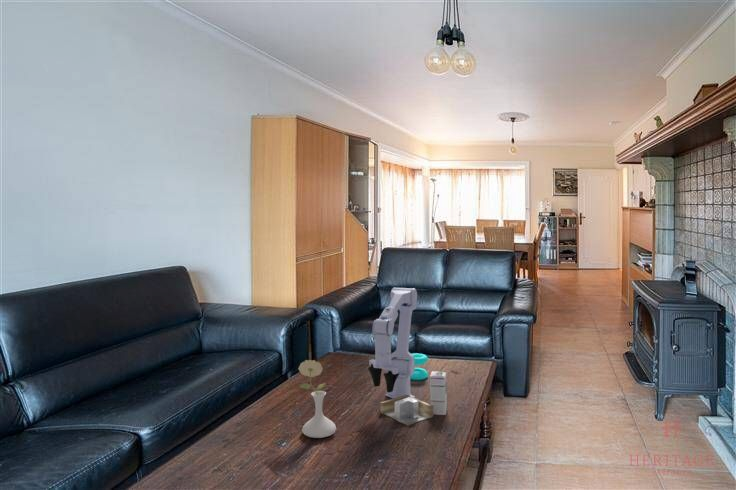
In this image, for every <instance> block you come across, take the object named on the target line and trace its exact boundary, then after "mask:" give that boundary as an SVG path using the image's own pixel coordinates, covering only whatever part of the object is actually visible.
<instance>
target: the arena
mask: <svg viewBox="0 0 736 490" xmlns="http://www.w3.org/2000/svg"><path fill="white" fill-rule="evenodd" d="M408 397H409V398H412V399H414V400H417V401H418V418H416V419H412V418H409V417H408V418H405V419H403V420H400V421H399V420H397V419H395V402H396V401H399V400H402V399H405V398H408ZM379 407H380V408H379V411H380V414H381V415H386V416H387V417H389V418H391V419H393V420H395V421H397V422H399V423H401V424H404V425H405V426H407V427H408V426H411V425H414V424H416V423H419V422H422V421H425V420H428V419H431V418H433V417H434V414H433V406H432V405H430V403H428V402H425V401H422V400H420V399H418V398H417V397H415V398H413V397H411V396H409V395H404V396H401V397H397V398H394V399H393V398H391V399H390V398H389V399H387V400H384V401H380V402H379Z"/></svg>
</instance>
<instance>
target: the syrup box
mask: <svg viewBox="0 0 736 490" xmlns="http://www.w3.org/2000/svg"><path fill="white" fill-rule="evenodd" d="M429 374H430V375H429V398H430V399H429V400H430V401H429V402H430V403H429V404H430V405H432V406H433V415H436V416H446V415H447V413H448V412H447V411H448V401H447V400H448V397H447V396H448V394H447V393H448V392H447V391H448V390H447V372H446V371H439V370H438V371H437V370H435V371H431V372H430V373H429Z"/></svg>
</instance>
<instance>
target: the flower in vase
mask: <svg viewBox="0 0 736 490" xmlns="http://www.w3.org/2000/svg"><path fill="white" fill-rule="evenodd" d="M299 364H300V365H299V366H298V368H297V369H298V371H299V372H300V374H301V375H303V376H305V377H309V383H307V382H305V383H302V384H301V385H300V386H299V388H300V389H301V388H302V389H307V390H309V389H310V388H311V387H312V390H313V391H312V392H311V393H310V396H311V397H312V398H313V401H314V405H315V407H314V408H315V412H314V413H315V414H314V415H313V417H312V418H310V419H309V420H308V421H307V422H306V423H305V424H304V425H303V427H302V429H301V432H302V433H303V434H304V435H305V436H306V437H309V438H313V439H323V438H326V437H329V436H331V435H333V434H334V433H335V432H336V430H337V427H336V424H335V422H333V421H332V420H331V419H329V418H328V417H326V416H325V415H324V414H323V403H324V398H325V396H326V395H327V392H326V391H323V390H321V389H323V388H324V387H325V385H326V383H327V382H324V383H320V384H318V385H317V387H316V388H315V387H314V385H313V384H312V378H314V377H318V376H320V375H321V373H322V371H323V370H324V369H323V366H322V364H321V363H320V361H316V360H315V359H313V360H311V359H309V360H308V359H305V360H304V361H302V362H301V363H299Z"/></svg>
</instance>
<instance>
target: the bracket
mask: <svg viewBox="0 0 736 490" xmlns="http://www.w3.org/2000/svg"><path fill="white" fill-rule="evenodd" d="M408 417H409V418H412V419H416V418H418V401H417V400H414V399H412V398H409V397H408V398H405V399H402V400H399V401H396V402H395V419H397V420H399V421H400V420H403V419H405V418H408ZM395 419H394V420H395ZM397 420H396V421H397ZM399 421H398V422H399Z"/></svg>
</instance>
